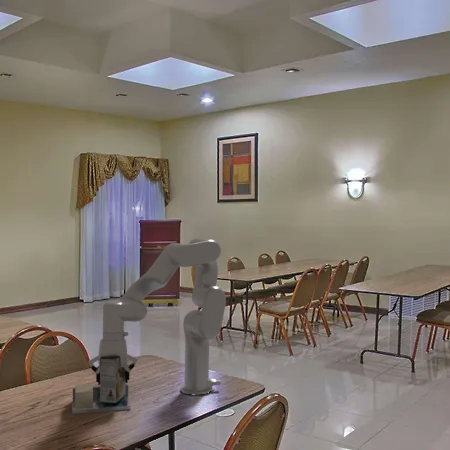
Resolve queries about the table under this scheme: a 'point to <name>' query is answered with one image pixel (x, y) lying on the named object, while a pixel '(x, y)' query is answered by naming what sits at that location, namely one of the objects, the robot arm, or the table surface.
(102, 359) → the coffee box
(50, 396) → the table surface
